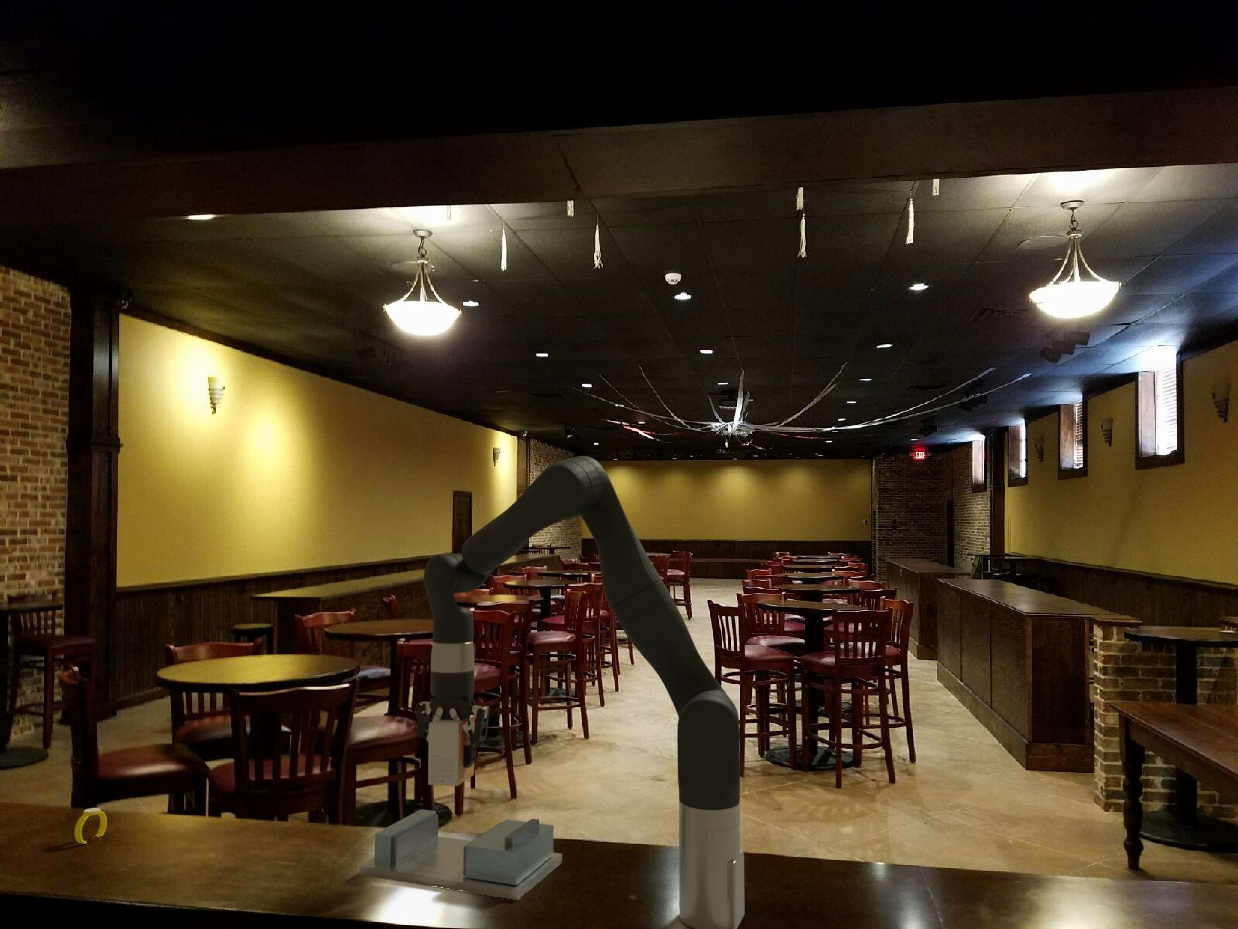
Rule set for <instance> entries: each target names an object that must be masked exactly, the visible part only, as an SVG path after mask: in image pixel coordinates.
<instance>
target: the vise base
mask: <svg viewBox="0 0 1238 929" xmlns="http://www.w3.org/2000/svg"><path fill="white" fill-rule="evenodd" d="M471 841H472V840H467V839H458V838H452V837H444V836H439V814H437V811H436V810H428V809H418V810H417V811H414V813H411V814H410V815H408V816H406V817H403V818H402V819H401V820H398V821H396V822H394V823H393V824H391V825H389V826H387V827H385V828H384V829H381V830H380V831H379V830H378V832H376V833H374V856H373V857H372V858H370V859H368V860H366V861H364V862H362V863H361V864H359V865H358V875H359V876H364V877H365V876H366V877H370V876H373V877H372V878H376V879H377V878H378V879H384V880H388V879H390V881H394V880H396V882H402V883H408V884H414V885H419V886H420V885H421V886H425V887H431V886H437V887H443V888H449V889H454V890H453V891H455V890H463V891H467V892H470V893H469V894H473V893H477V894H476V895H479V894H482V896H485V895H487V896H486V897H491V896H492V898H497V897H502V898H501V899H504V898H507V899H506V900H510V899H513V900H512V901H516V900H518V901H520V900H521V898H523V897H524V896H525V895H526V894H527V893H528V892H530V891H531V890H532V889H533V888H534V887H536V886H537V885H538V884H539V883H540V882H541V881H542V880H544V879H545V878H546V877H547V876H548V875H549V874H550V873H552V872H553V871H555V869H556V868H557V867H558V866H560V865H561V864H563V853H558V852H553V855H552V856H551V857H550V858H549V859H548V860H546V861H545V862H544V863H543V864H542V865H540V866H539V867H538V868H537V869H535V870H534V871H533V872H532V873H531V874H529V875H528V876H527V877H526V878H525V879H523V880H522V881H521V882H520V883H518V884H517V885H512V884H506V883H500V882H493V881H487V880H481V879H474V878H468V877H466V876H464V875H463V854H464V846H465V845H467V844H468V843H470V842H471ZM537 883H538V884H537ZM437 887H436V888H437ZM443 888H442V889H443ZM449 889H448V890H449ZM529 890H530V891H529ZM467 892H466V893H467ZM525 893H526V894H525ZM524 894H525V895H524ZM523 895H524V896H523ZM522 896H523V897H522ZM520 897H521V898H520Z"/></svg>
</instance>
